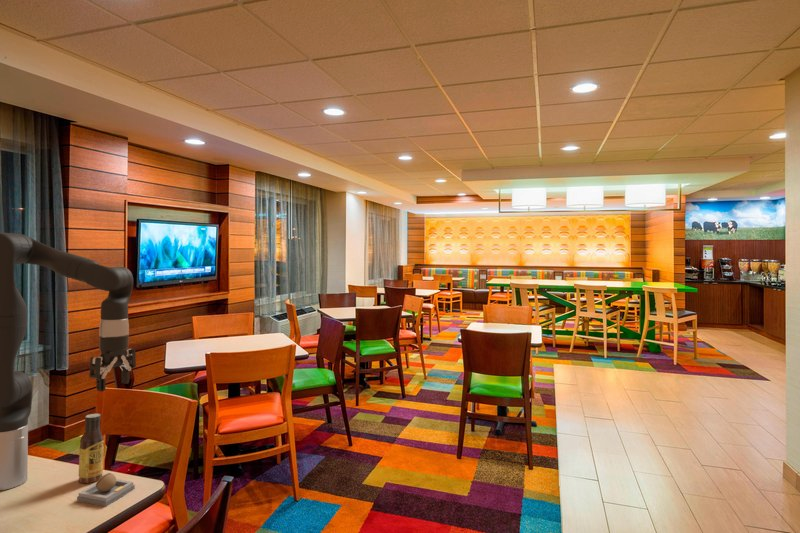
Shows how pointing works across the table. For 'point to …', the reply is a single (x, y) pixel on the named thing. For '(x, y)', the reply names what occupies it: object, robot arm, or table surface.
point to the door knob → (106, 482)
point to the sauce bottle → (91, 450)
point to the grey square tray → (105, 493)
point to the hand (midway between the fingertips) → (113, 387)
